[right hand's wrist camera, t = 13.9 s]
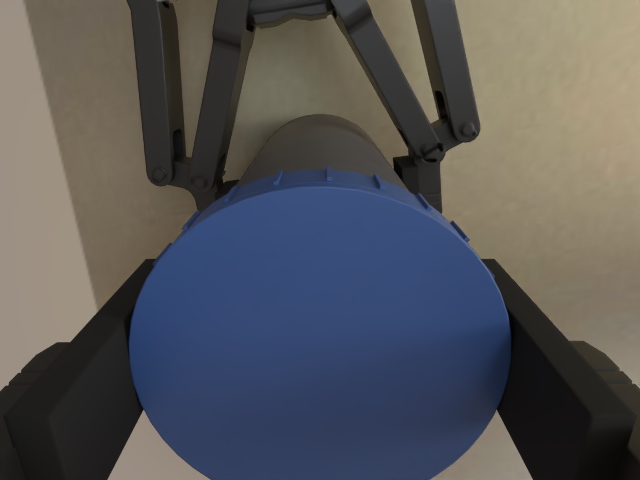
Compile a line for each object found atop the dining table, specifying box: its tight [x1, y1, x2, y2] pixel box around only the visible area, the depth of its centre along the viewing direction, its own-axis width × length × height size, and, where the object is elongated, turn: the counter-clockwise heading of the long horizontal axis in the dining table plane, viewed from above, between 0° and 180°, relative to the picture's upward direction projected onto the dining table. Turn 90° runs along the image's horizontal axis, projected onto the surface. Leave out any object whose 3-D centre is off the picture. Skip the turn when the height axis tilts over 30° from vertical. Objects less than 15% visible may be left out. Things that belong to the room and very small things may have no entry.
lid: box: [129, 166, 511, 480], centre depth 11 cm, size 9×9×2 cm
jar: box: [236, 114, 409, 191], centre depth 20 cm, size 8×8×19 cm
